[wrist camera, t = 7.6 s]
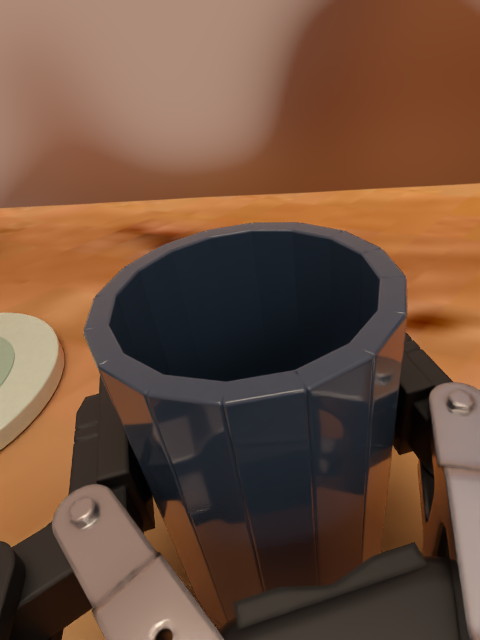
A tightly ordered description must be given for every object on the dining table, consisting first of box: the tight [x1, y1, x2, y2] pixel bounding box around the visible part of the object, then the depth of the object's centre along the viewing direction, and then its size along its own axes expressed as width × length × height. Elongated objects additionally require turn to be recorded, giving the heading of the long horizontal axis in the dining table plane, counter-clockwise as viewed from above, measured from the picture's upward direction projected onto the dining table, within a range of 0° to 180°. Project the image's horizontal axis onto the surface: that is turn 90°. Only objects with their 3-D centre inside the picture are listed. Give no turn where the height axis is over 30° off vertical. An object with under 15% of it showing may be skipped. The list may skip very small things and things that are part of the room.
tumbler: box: [84, 222, 408, 629], centre depth 12 cm, size 6×6×10 cm
